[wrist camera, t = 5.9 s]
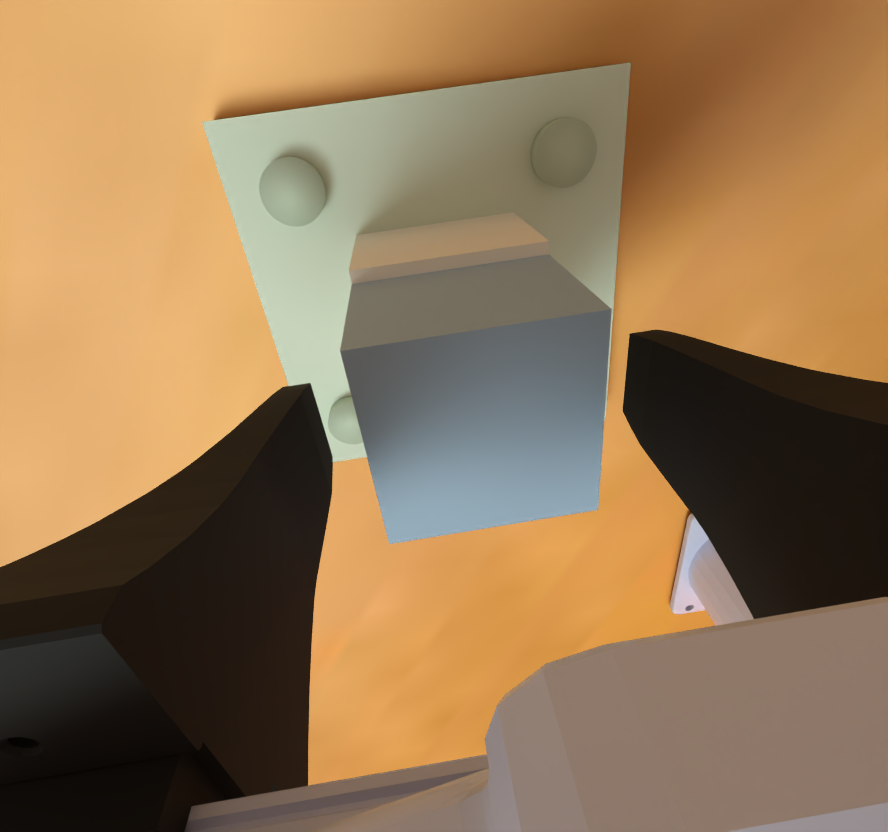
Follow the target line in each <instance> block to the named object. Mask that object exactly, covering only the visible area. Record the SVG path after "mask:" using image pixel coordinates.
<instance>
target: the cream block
mask: <svg viewBox="0 0 888 832" xmlns="http://www.w3.org/2000/svg"><path fill="white" fill-rule="evenodd" d="M548 254H549V241H548V240H547V239H546V238H545V237H543V236H542V235H541V234H540V233H538V232H537V231H536V230H535V229H533V228H532V227H531V226H530V225H528V224H527V223H526V222H525V221H523V220H522V219H521V218H520V217H518V216H517V215H516V214H515V213H513V212H511V213H504V214H497V215H490V216H484V217H477V218H470V219H463V220H456V221H449V222H443V223H436V224H429V225H422V226H415V227H408V228H402V229H395V230H388V231H381V232H374V233H367V234H361V235H356V238H355V243H354V247H353V252H352V257H351V262H350V267H349V275H350V279H351V284H356V283H362V282H369V281H376V280H382V279H389V278H395V277H402V276H409V275H415V274H422V273H429V272H435V271H442V270H449V269H455V268H462V267H468V266H475V265H482V264H488V263H495V262H502V261H508V260H515V259H522V258H528V257H535V256H541V255H548Z"/></svg>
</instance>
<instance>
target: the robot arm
mask: <svg viewBox="0 0 888 832" xmlns="http://www.w3.org/2000/svg"><path fill="white" fill-rule="evenodd" d="M623 413H624V415H625V417H626V419H627V421H628V423H629V425H630V427H631V429H632V430H633V432H634V434H635V436H636V438H637V440H638V441H639V443H640V445H641V446H642V448H643V449H644V450H645V452H646V453H647V455H648V456H649V457H650V459H651V460H652V461H653V463H654V464H655V465H656V467H657V468H658V469H659V471H660V472H661V473H662V475H663V476H664V477H665V479H666V480H667V481H668V483H669V484H670V485H671V487H672V488H673V489H674V490H675V492H676V493H677V494H678V496H679V497H680V498H681V500H682V501H683V502H684V504H685V505H686V506H687V508H688V509H689V510H690V512H691V514H690V515H689V517H688V519H687V524H686V529H685V534H684V539H683V543H682V548H681V553H680V558H679V563H678V568H677V573H676V578H675V582H674V587H673V592H672V597H671V602H670V609H671V610H672V612H673V613H674V614H684V613H690V612H696V611H702V610H706V611H707V613H708V614H709V616H710V617H711V619H712V621H713V622H714V624H715V625H716V626H711V627H705V628H700V629H694V630H688V631H682V632H676V633H670V634H664V635H658V636H653V637H647V638H641V639H635V640H629V641H623V642H617V643H612V644H606V645H602V646H599V647H596V648H593V649H590V650H587V651H584V652H581V653H577V654H574V655H571V656H568V657H565V658H562V659H559V660H556V661H553V662H550V663H547V664H545V665H544V666H542V667H541V668H540V669H538V670H537V671H536V672H534V673H533V674H532V675H530V676H529V677H528V678H526V679H525V680H524V681H522V682H521V683H520V684H518V685H517V686H516V687H514V688H513V689H512V690H510V691H509V692H508V693H506V694H505V696H504V697H503V698H502V700H501V701H500V702H499V704H498V705H497V707H496V710H495V713H494V716H493V718H492V721H491V724H490V727H489V729H488V732H487V735H486V738H485V744H486V751H487V754H486V755H481V756H475V757H469V758H464V759H458V760H452V761H446V762H441V763H435V764H429V765H424V766H418V767H412V768H407V769H401V770H395V771H389V772H384V773H378V774H372V775H367V776H361V777H355V778H349V779H344V780H338V781H332V782H327V783H321V784H315V785H310V786H308V726H309V686H310V664H311V641H312V625H313V610H314V596H315V588H316V580H317V574H318V569H319V563H320V557H321V552H322V546H323V541H324V535H325V530H326V524H327V518H328V513H329V507H330V501H331V495H332V468H333V456H332V453H331V450H330V446H329V443H328V440H327V436H326V433H325V430H324V426H323V423H322V420H321V416H320V413H319V410H318V406H317V403H316V400H315V396H314V393H313V390H312V386H311V383H306V384H300V385H293V386H287V387H282V388H281V389H279V390H278V391H277V392H275V393H274V394H273V395H272V396H271V397H269V398H268V399H267V400H266V401H265V402H264V403H263V404H262V405H260V406H259V407H258V408H257V409H256V410H255V411H254V412H253V413H252V414H250V415H249V416H248V417H247V418H246V419H245V420H244V421H243V422H241V423H240V424H239V425H238V426H237V427H236V428H235V429H234V430H232V431H231V432H230V433H229V434H228V435H226V436H225V437H224V438H223V439H221V440H220V441H219V442H218V443H217V444H215V445H214V446H213V447H212V448H210V449H209V450H208V451H207V452H205V453H204V454H203V455H202V456H200V457H199V458H198V459H197V460H195V461H194V462H193V463H191V464H190V465H189V466H187V467H186V468H184V469H183V470H182V471H180V472H179V473H177V474H176V475H174V476H173V477H171V478H170V479H168V480H167V481H165V482H164V483H162V484H161V485H159V486H158V487H156V488H155V489H153V490H152V491H150V492H148V493H147V494H145V495H143V496H142V497H140V498H138V499H136V500H135V501H133V502H131V503H129V504H128V505H126V506H124V507H122V508H121V509H119V510H117V511H115V512H114V513H112V514H110V515H108V516H107V517H105V518H103V519H101V520H100V521H98V522H96V523H94V524H92V525H90V526H88V527H86V528H84V529H82V530H80V531H78V532H76V533H74V534H72V535H70V536H68V537H66V538H64V539H62V540H60V541H58V542H56V543H54V544H52V545H49V546H47V547H45V548H43V549H41V550H39V551H37V552H35V553H32V554H30V555H28V556H26V557H23V558H21V559H19V560H17V561H14V562H12V563H10V564H7V565H5V566H2V567H0V832H888V383H883V382H876V381H869V380H863V379H857V378H852V377H846V376H841V375H836V374H830V373H825V372H820V371H815V370H810V369H806V368H801V367H797V366H793V365H789V364H785V363H781V362H777V361H773V360H769V359H765V358H762V357H758V356H754V355H751V354H747V353H744V352H740V351H737V350H733V349H730V348H726V347H723V346H720V345H716V344H713V343H710V342H706V341H703V340H699V339H696V338H693V337H689V336H685V335H681V334H678V333H673V332H669V331H663V330H651V331H645V332H638V333H631V334H630V337H629V348H628V359H627V370H626V381H625V391H624V402H623Z"/></svg>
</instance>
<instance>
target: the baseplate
mask: <svg viewBox="0 0 888 832" xmlns="http://www.w3.org/2000/svg"><path fill="white" fill-rule="evenodd" d="M630 68H631V62H630V63H622V64H615V65H608V66H601V67H594V68H586V69H579V70H572V71H565V72H558V73H550V74H543V75H536V76H529V77H522V78H515V79H507V80H500V81H493V82H486V83H479V84H471V85H464V86H457V87H450V88H443V89H435V90H428V91H421V92H414V93H407V94H399V95H392V96H385V97H378V98H371V99H364V100H356V101H349V102H342V103H335V104H328V105H320V106H313V107H306V108H299V109H292V110H284V111H277V112H270V113H263V114H256V115H248V116H241V117H234V118H227V119H220V120H212V121H205V122H202V123H203V126H204V130H205V133H206V136H207V139H208V142H209V145H210V148H211V151H212V154H213V157H214V160H215V163H216V166H217V169H218V172H219V175H220V178H221V181H222V184H223V187H224V190H225V193H226V196H227V199H228V202H229V206H230V209H231V212H232V215H233V218H234V221H235V224H236V227H237V230H238V233H239V236H240V239H241V242H242V245H243V248H244V251H245V254H246V257H247V260H248V263H249V266H250V269H251V272H252V275H253V278H254V282H255V285H256V288H257V291H258V294H259V297H260V300H261V303H262V306H263V309H264V312H265V315H266V318H267V321H268V324H269V327H270V330H271V333H272V336H273V339H274V342H275V345H276V348H277V351H278V354H279V358H280V361H281V364H282V367H283V370H284V373H285V376H286V379H287V382H288V385H289V386H293V385H300V384H306V383H311V386H312V390H313V393H314V396H315V400H316V403H317V406H318V410H319V413H320V416H321V420H322V423H323V426H324V430H325V433H326V436H327V440H328V443H329V446H330V450H331V453H332V456H333V462H338V461H344V460H350V459H357V458H363V457H367V455H366V451H365V447H364V443H363V439H362V435H361V431H360V427H359V423H358V419H357V416H356V412H355V408H354V404H353V400H352V396H351V392H350V388H349V384H348V380H347V376H346V373H345V369H344V365H343V361H342V357H341V353H340V348H341V342H342V337H343V331H344V325H345V320H346V314H347V308H348V303H349V297H350V291H351V285H352V284H351V279H350V275H349V267H350V262H351V257H352V252H353V247H354V243H355V238H356V235H361V234H367V233H374V232H381V231H388V230H395V229H402V228H408V227H415V226H422V225H429V224H436V223H443V222H449V221H456V220H463V219H470V218H477V217H484V216H490V215H497V214H504V213H511V212H513V213H515V214H516V215H517V216H518V217H520V218H521V219H522V220H523V221H525V222H526V223H527V224H528V225H530V226H531V227H532V228H533V229H535V230H536V231H537V232H538V233H540V234H541V235H542V236H543V237H545V238H546V239H547V240H548V241H549V255H551V256H552V257H553V258H554V259H555V260H556V261H557V262H559V263H560V264H561V265H562V266H563V267H564V268H565V269H567V270H568V271H569V272H570V273H571V274H572V275H573V276H574V277H576V278H577V279H578V280H579V281H580V282H581V283H582V284H584V285H585V286H586V287H587V288H588V289H589V290H590V291H592V292H593V293H594V294H595V295H596V296H597V297H598V298H600V299H601V300H602V301H603V302H604V303H605V304H606V305H608V306H609V307H610V308H611V309H612V311H611V326H610V341H609V355H608V370H607V385H606V400H605V415H604V419H606V405H607V391H608V377H609V363H610V349H611V335H612V321H613V307H614V293H615V279H616V265H617V251H618V237H619V223H620V209H621V195H622V181H623V166H624V152H625V138H626V124H627V110H628V96H629V82H630Z"/></svg>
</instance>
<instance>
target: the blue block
mask: <svg viewBox="0 0 888 832" xmlns="http://www.w3.org/2000/svg"><path fill="white" fill-rule="evenodd" d="M611 311H612V309H611V308H610V307H609V306H608V305H606V304H605V303H604V302H603V301H602V300H601V299H600V298H598V297H597V296H596V295H595V294H594V293H593V292H592V291H590V290H589V289H588V288H587V287H586V286H585V285H584V284H582V283H581V282H580V281H579V280H578V279H577V278H576V277H574V276H573V275H572V274H571V273H570V272H569V271H568V270H567V269H565V268H564V267H563V266H562V265H561V264H560V263H559V262H557V261H556V260H555V259H554V258H553V257H552V256H551V255H549V254H548V255H541V256H535V257H528V258H522V259H515V260H508V261H502V262H495V263H488V264H482V265H475V266H468V267H462V268H455V269H449V270H442V271H435V272H429V273H422V274H415V275H409V276H402V277H395V278H389V279H382V280H376V281H369V282H362V283H356V284H352V285H351V291H350V297H349V303H348V308H347V314H346V320H345V325H344V331H343V337H342V342H341V348H340V353H341V357H342V361H343V365H344V369H345V373H346V376H347V380H348V384H349V388H350V392H351V396H352V400H353V404H354V408H355V412H356V416H357V419H358V423H359V427H360V431H361V435H362V439H363V443H364V447H365V451H366V455H367V459H368V462H369V466H370V470H371V474H372V478H373V482H374V486H375V490H376V494H377V498H378V502H379V505H380V509H381V513H382V517H383V521H384V525H385V529H386V533H387V537H388V541H389V544H393V543H399V542H405V541H411V540H417V539H423V538H429V537H435V536H442V535H448V534H454V533H460V532H466V531H472V530H478V529H484V528H490V527H496V526H502V525H508V524H515V523H521V522H527V521H533V520H539V519H545V518H551V517H557V516H563V515H569V514H575V513H581V512H587V511H594V510H598V504H599V489H600V474H601V459H602V445H603V430H604V415H605V400H606V385H607V370H608V355H609V341H610V326H611Z"/></svg>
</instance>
